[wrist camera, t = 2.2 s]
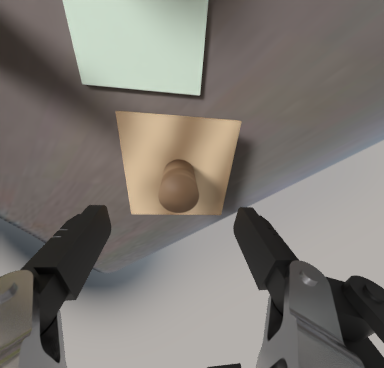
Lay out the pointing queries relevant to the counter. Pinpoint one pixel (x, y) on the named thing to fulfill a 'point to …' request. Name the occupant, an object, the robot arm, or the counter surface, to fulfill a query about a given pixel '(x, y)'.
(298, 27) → the counter surface
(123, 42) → the mat
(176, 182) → the lid
